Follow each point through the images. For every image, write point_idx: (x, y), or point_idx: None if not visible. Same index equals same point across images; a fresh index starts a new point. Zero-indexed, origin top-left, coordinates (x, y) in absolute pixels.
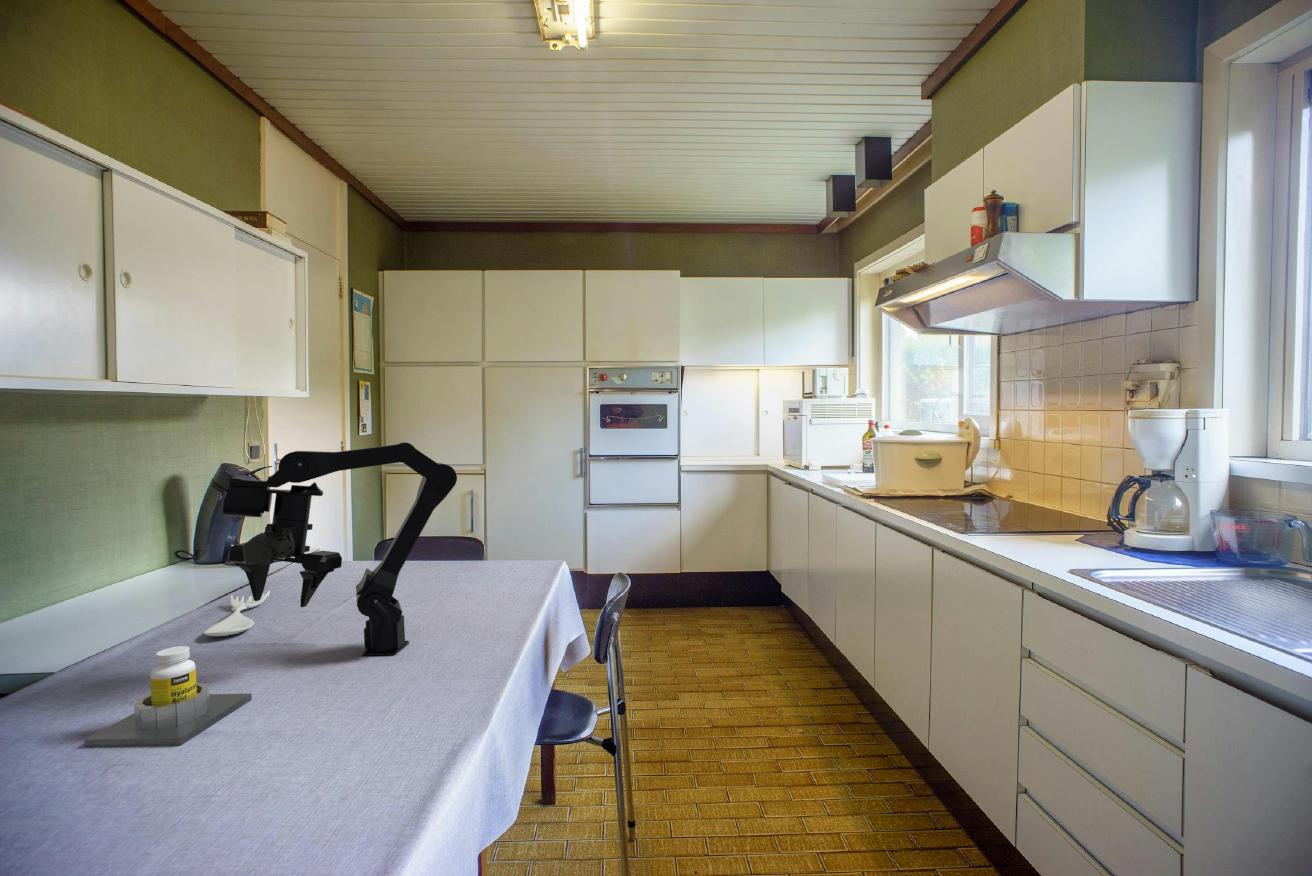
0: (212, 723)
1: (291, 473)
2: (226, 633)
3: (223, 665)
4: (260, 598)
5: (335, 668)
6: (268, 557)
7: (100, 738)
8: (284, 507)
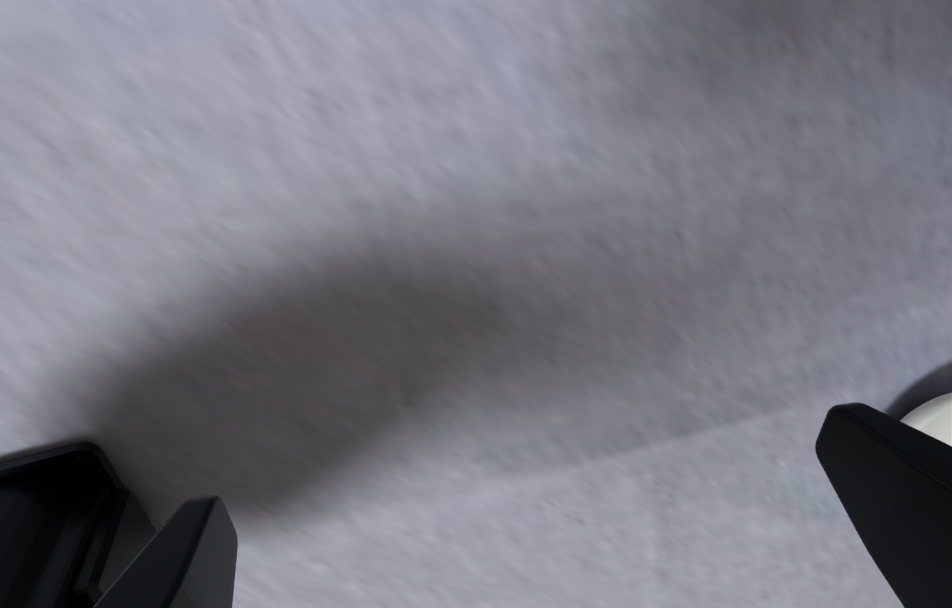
0: None
1: None
2: (910, 416)
3: (750, 195)
4: (824, 464)
5: (83, 278)
6: None
7: None
8: None
